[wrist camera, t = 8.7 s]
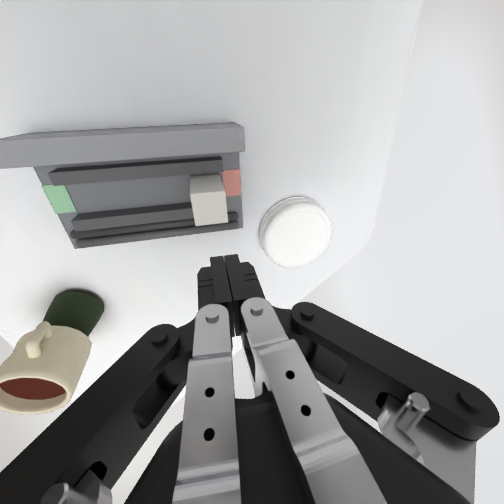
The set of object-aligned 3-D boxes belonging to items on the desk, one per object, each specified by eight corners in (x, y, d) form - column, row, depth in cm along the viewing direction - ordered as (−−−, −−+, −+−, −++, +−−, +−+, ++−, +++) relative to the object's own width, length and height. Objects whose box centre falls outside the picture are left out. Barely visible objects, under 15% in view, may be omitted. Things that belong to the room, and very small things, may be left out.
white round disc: (297, 180, 31) (308, 188, 29) (334, 225, 37) (346, 235, 34) (244, 231, 34) (249, 243, 31) (285, 266, 39) (293, 280, 36)
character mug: (43, 271, 31) (-37, 364, 20) (106, 275, 33) (64, 360, 22) (56, 330, 36) (-2, 428, 25) (110, 330, 38) (77, 420, 27)
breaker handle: (190, 173, 26) (189, 194, 20) (217, 171, 26) (225, 190, 20) (194, 199, 27) (195, 226, 22) (220, 197, 28) (228, 222, 22)
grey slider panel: (29, 132, 23) (-16, 141, 18) (234, 122, 26) (243, 127, 21) (81, 240, 29) (59, 268, 24) (240, 221, 33) (249, 243, 28)
